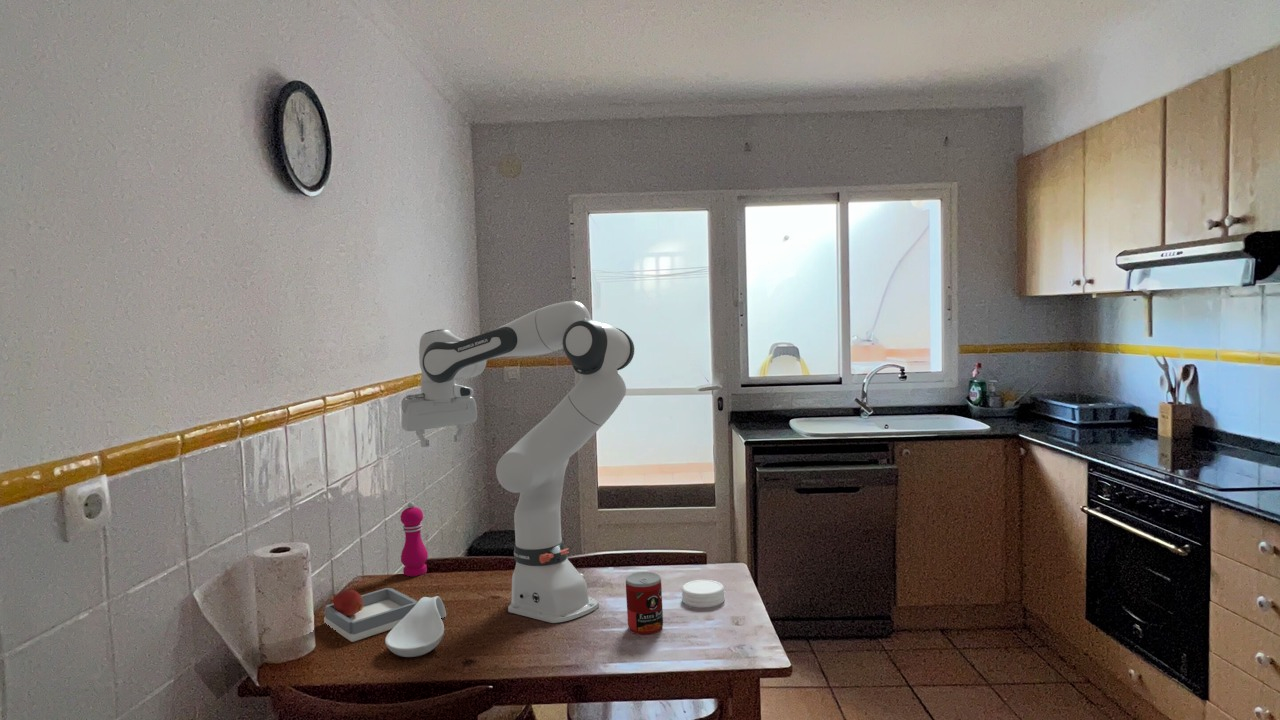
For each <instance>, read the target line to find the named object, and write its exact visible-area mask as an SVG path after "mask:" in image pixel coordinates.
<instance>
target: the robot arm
mask: <svg viewBox="0 0 1280 720" xmlns="http://www.w3.org/2000/svg"><path fill="white" fill-rule="evenodd" d="M418 345H419V346H418V348H419V349H418V350H419V351H418V353H419V354H418V355H419V357H418V359H419V367H420V370H421V377H420V393H416V394H415V393H414V394H406V396H404V398H402V400H401V403H400V404H401V410H402V414H401V428H402V429H403V431H406V432H415V434H416V436H417V438H418V439H419V440H420V447H421V448H427V447H430V439H426V438H425V433H426V430H429V429H430V430H431V429H437V428H438V429H439V428H446V427H453V426H456V429H458V430H457V431H456V434H454V435H453V442H454V443H460V442H461V443H462V441H463V434H464V432H465V429H466V424H467V425H469V424H474V423H476V421H477V419H478V408H477V403H476V399H475V397H473V395H474V389H473V388H472V387H468V386H465V385H462V384H461V385H460V384H458V383H456V382H457V381H458V380H464V379H472V378H476V377H478V376H480V375H482V374H483V373H484V371H485V370H486V368H487V364H488V360H492V359H495V358H506V357H533V356H541V355H548V354H550V353H554V352H556V351H559V350H563V351H564V353H565V356H566V357H567V359H568V360H569V361H570V362H571V365H572V367H573V370H574V371H575V372H576V373H577V374H579V375H581V377H580V380H579V381H578V382H577V384H575V385H574V387H573V388H572V389H571V390H570V391H569V392H568V393H566V395H565V396H564V397H563V399H561V401H560V402H559V403H558V404H557V405H556V406H555V407H554V408H553V409H552V410H551V411H550V413H549V414H547V415H546V416H545V417H544V418H543V419H542V420H541V421H540V422H538V423H537V424H536V425H534V427H533V428H531V429H530V430H529V431H528V432H527V433H526V434H525V435H524V436H522V437H521V438H520V439H519V440H518V441H517V442H516V443H515V444H514V445H513V446H512V447H511V448H510V449H508V451H506V452H505V453H504V454H503V455H502V456H501V457H500V459H499V460H498V461H497V463H496V468H495V473H496V479H497V481H498V483H499V484H500V485H501V487H502V488H503V489H504V490H506V491H508V492H510V493H515V494H516V493H517V494H518V493H519V499H518V501H517V505H516V507H515V508H514V509H515V510H514V513H513V517H514V536H515V544H514V546H513V555H514V561H515V568H514V570H513V573H512V575H511V576H512V577H511V603H510V604H509V605H508V606H507V611H508V613H511V614H515V615H519V616H522V617H523V616H524V617H527V618H532V619H535V620H539V621H542V622H547V623H551V624H558V623H563V622H567V621H571V620H574V619H578V618H580V617H583V616H586V615H588V614H590V613H592V612H593V611H595V610H597V609H598V608H599V606H600V602H599V601H598V600H596V598H593V597H591V596H590V595H589V591H588V585H587V584H588V583H587V582H586V579H585V575H584V573H581V572H579V571H578V570H577V569H576V567H575V566H574V565H573V563H572V562H571V561H570V560H569V559H568V554H569V553H570V551H569V550H570V549H569V547H566V545H565V542H564V541H563V539H562V524H561V523H562V521H561V520H562V519H561V504H562V496H563V489H564V481H565V473H566V469H567V467H568V465H569V462H570V457H572V456H573V455H575V454H576V453H577V452H578V451H579V450H581V448H582V447H584V445H585V444H586V443H587V442H588V441H589V440H590V439H591V438H592V437H593V436H594V435H595V434H596V433H597V432H598V431H599V430H600V429H601V427H603V426H604V425H605V423H607V421H608V420H609V419H610V418H611V416H612V415H613V414H614V413H615V411H616V410H617V409H618V407H619V406H620V404H621V402H622V401H623V400H624V398H625V396H626V393H627V387H626V383H625V381H624V379H623V377H622V376H621V375H620V374H619V371H621V370H623V369H625V368H626V367H627V366H629V364H630V363H632V361H633V358H634V355H635V344H634V341H633V340H632V338H631V337H630V335H628V333H627V332H625V331H624V330H622V329H621V328H618V327H614V326H612V325H611V324H609V323H606V322H602V321H596V320H594V319H592V317H591V314H590V311H589V310H588V308H587V307H586V306H585V305H584V304H583V303H582V302H580V301H577V300H567V301H561V302H558V303H557V302H556V303H552V304H549V305H547V306H543V307H540V308H538V309H536V310H533V311H530V312H528V313H526V314H524V315H522V316H520V317H518V318H516V319H514V320H512V321H510V322H508V323H506V324H504V325H501V326H499V327H497V328H494V329H493V330H489V331H487V332H485V333H482V334H479V335H475V336H472V337H469V338H466V339H464V338H461V337H459V336H457V335H455V334H454V333H453V332H452V331H451V330H449V329H445V328H444V329H442V328H441V329H436V330H435V329H434V330H430V331H427V332H425V333H423V334H421V337H420V340H419V344H418Z"/></svg>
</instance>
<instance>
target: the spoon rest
mask: <svg viewBox="0 0 1280 720" xmlns="http://www.w3.org/2000/svg"><path fill="white" fill-rule="evenodd" d="M417 601H418V602H417V604H416V605H415V606H414V607H413V608H412V609H411V610H410V612H409V613H408V614H407V615H406V616H405V617H404V618H403V619H402V620H401V621H400V622H399V623H398V624H397V625H396V626H395V627H394V628H393V629H390V630H389V632H388V633H387V634H386V636H385V639H384V643H385V645H386V648H388V649H389V651H391V653H393V654H394V655H396V656H398V657H404V658H414V657H415V658H417V657H421V656H424V655H426V654H428V653H430V652H431V651H433V650H434V649H435V648H436V647H438V645H439V644H440V643H441V641H442V639H443V637H444V634H445V625H444V622H443V619H445V618H447V611H446V608H445V603H443V600H442V599H441V597H440V596H438V595H435V596H433V597H428V596H423V597H421V598H420V599H419V600H417ZM444 617H445V618H444ZM441 618H442V619H441Z"/></svg>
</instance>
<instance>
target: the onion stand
mask: <svg viewBox="0 0 1280 720" xmlns="http://www.w3.org/2000/svg"><path fill="white" fill-rule="evenodd" d="M360 596H361V597H362V601H363V609H362V610H361V611H359V612H357V613H356V614H354V615H352V616H348V617H347V616H344V615H343V614H341V613H340V612H338V611H336V610H335V608H334V604H333V603H331V604H326V605H325V606H324V611H325V612H324V613H325V616H324V617H323V621H324V624H325V623H326V624H327V626H328V625H329V626H330V627H329V626H328V627H329V628H331V629H332V628H333V629H332V630H333V631H335V630H336V631H335V632H336V633H338V634H339V635H341V636H342V637H343V638H345V639H347V640H348V641H350V642H351V643H353V642H357V641H359V640H363V639H366V638H369V637H371V636H374V635H378V634H380V633H384V632H387V631H391V630H392V629H393V628H394V627H395V626H396V625H397V624H398V623H399V622H400V621H401V620H402V619H403V618H404V617H405V616H406V615H407V614H408V613H409V612H410V610H411V609H412V608H413V607H414V606H415V605H416V604H417V602H418V601H419V600H416V599H414V598H412V597H410V596H408V595H407V594H405V593H402V592H401V591H398V590H396V589H394V588H392V587H390V588H389V587H385V588H382V589H378V590H375V591H372V592H368V593H364V594H360ZM326 624H325V625H326Z"/></svg>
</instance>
